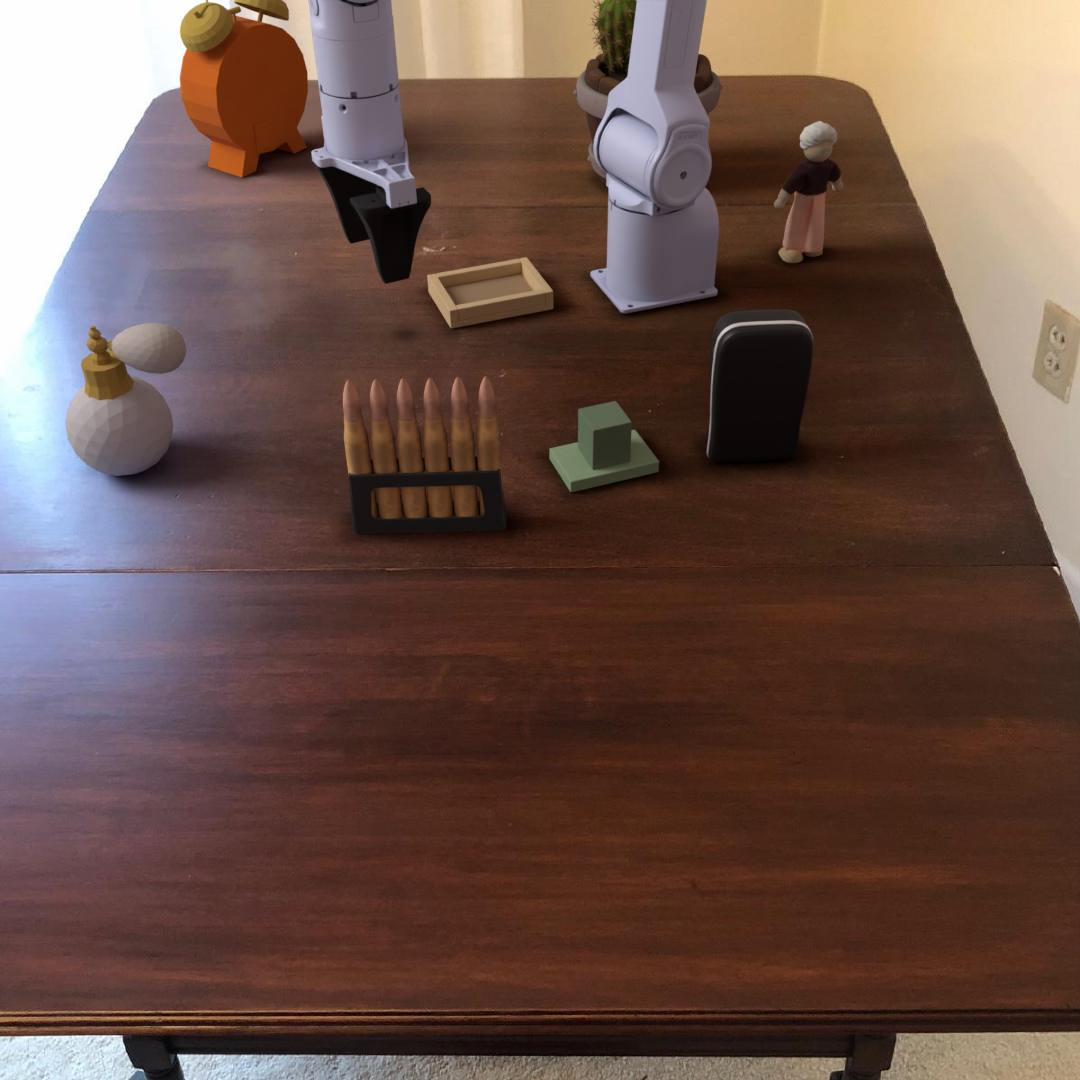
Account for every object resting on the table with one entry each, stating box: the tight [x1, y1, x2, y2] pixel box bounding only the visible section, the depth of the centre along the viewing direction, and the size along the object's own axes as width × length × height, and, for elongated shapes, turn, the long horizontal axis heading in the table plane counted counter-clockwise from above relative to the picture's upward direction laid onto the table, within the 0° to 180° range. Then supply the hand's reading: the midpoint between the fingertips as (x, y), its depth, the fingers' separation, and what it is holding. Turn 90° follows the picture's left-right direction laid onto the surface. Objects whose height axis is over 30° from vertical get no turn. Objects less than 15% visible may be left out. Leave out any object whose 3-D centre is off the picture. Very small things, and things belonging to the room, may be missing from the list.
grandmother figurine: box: [773, 120, 844, 264], centre depth 113 cm, size 8×4×13 cm, turn 131°
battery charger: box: [705, 309, 814, 463], centre depth 89 cm, size 7×4×11 cm, turn 93°
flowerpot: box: [572, 0, 723, 185], centre depth 125 cm, size 14×15×20 cm
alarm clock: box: [179, 0, 309, 179], centre depth 130 cm, size 13×6×20 cm, turn 144°
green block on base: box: [548, 400, 660, 493], centre depth 90 cm, size 7×4×4 cm, turn 110°
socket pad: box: [426, 256, 554, 330], centre depth 110 cm, size 10×7×2 cm
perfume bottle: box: [64, 322, 187, 477], centre depth 88 cm, size 8×10×12 cm
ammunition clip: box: [342, 375, 507, 535], centre depth 82 cm, size 11×2×12 cm, turn 92°
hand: (377, 258), depth 96 cm, fingers open, 7 cm apart
